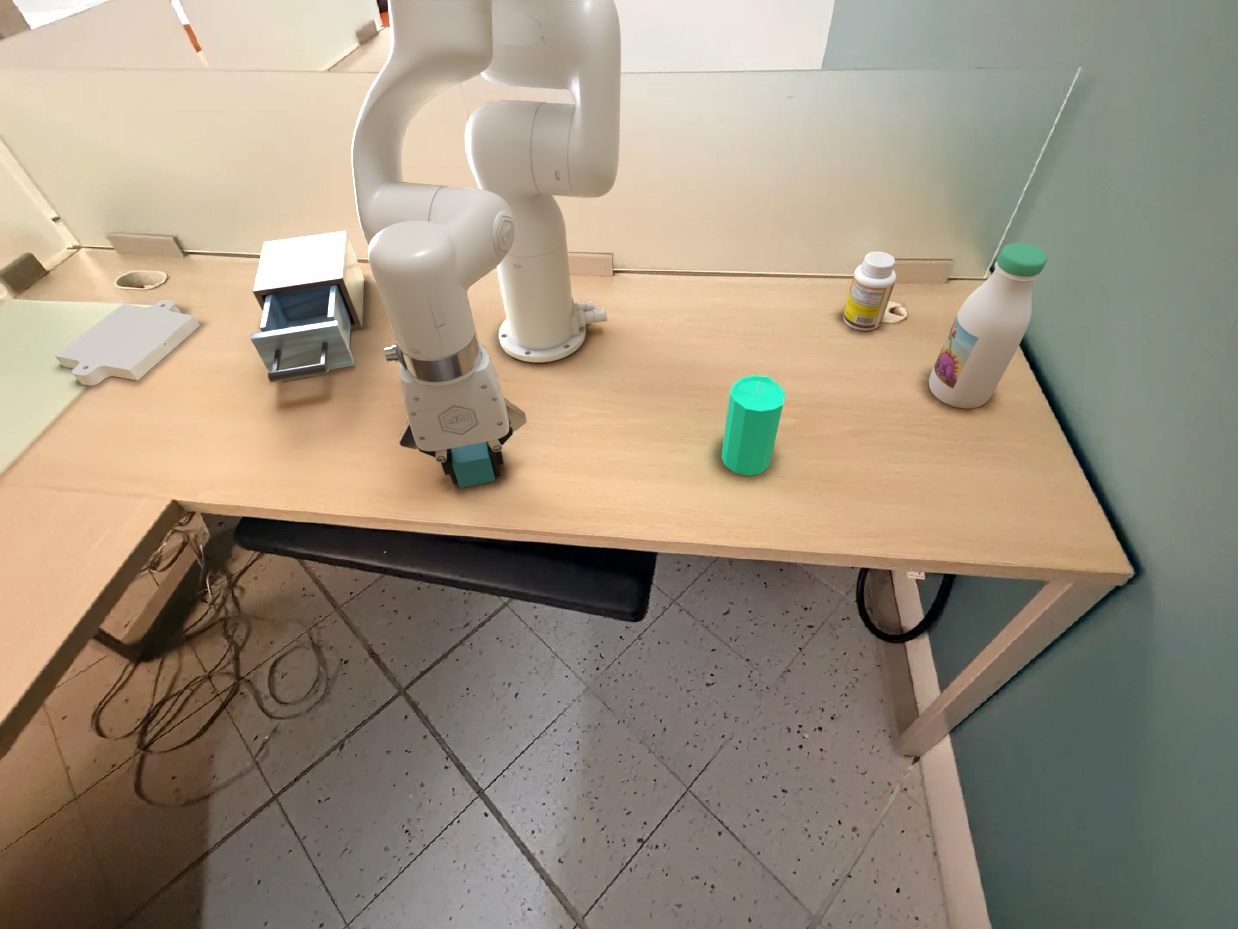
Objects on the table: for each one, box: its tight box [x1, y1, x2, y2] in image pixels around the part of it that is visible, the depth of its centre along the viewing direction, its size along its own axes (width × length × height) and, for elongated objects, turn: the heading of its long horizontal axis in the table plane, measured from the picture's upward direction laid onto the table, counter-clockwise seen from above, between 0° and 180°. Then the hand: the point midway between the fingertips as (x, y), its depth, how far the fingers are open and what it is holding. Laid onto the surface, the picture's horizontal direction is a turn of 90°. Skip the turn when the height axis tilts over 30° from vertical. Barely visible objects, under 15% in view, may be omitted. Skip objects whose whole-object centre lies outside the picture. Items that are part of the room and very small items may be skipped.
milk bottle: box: [928, 242, 1048, 409], centre depth 78 cm, size 8×8×20 cm
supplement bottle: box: [842, 251, 897, 332], centre depth 92 cm, size 6×6×10 cm
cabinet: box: [252, 230, 365, 331], centre depth 98 cm, size 14×12×9 cm
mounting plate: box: [54, 299, 201, 387], centre depth 96 cm, size 18×13×2 cm
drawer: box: [250, 284, 356, 383], centre depth 89 cm, size 18×11×7 cm, turn 14°
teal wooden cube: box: [451, 442, 496, 489], centre depth 77 cm, size 4×4×4 cm
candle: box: [720, 374, 786, 477], centre depth 74 cm, size 6×6×12 cm
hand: (475, 470), depth 78 cm, fingers closed on teal wooden cube, 4 cm apart
